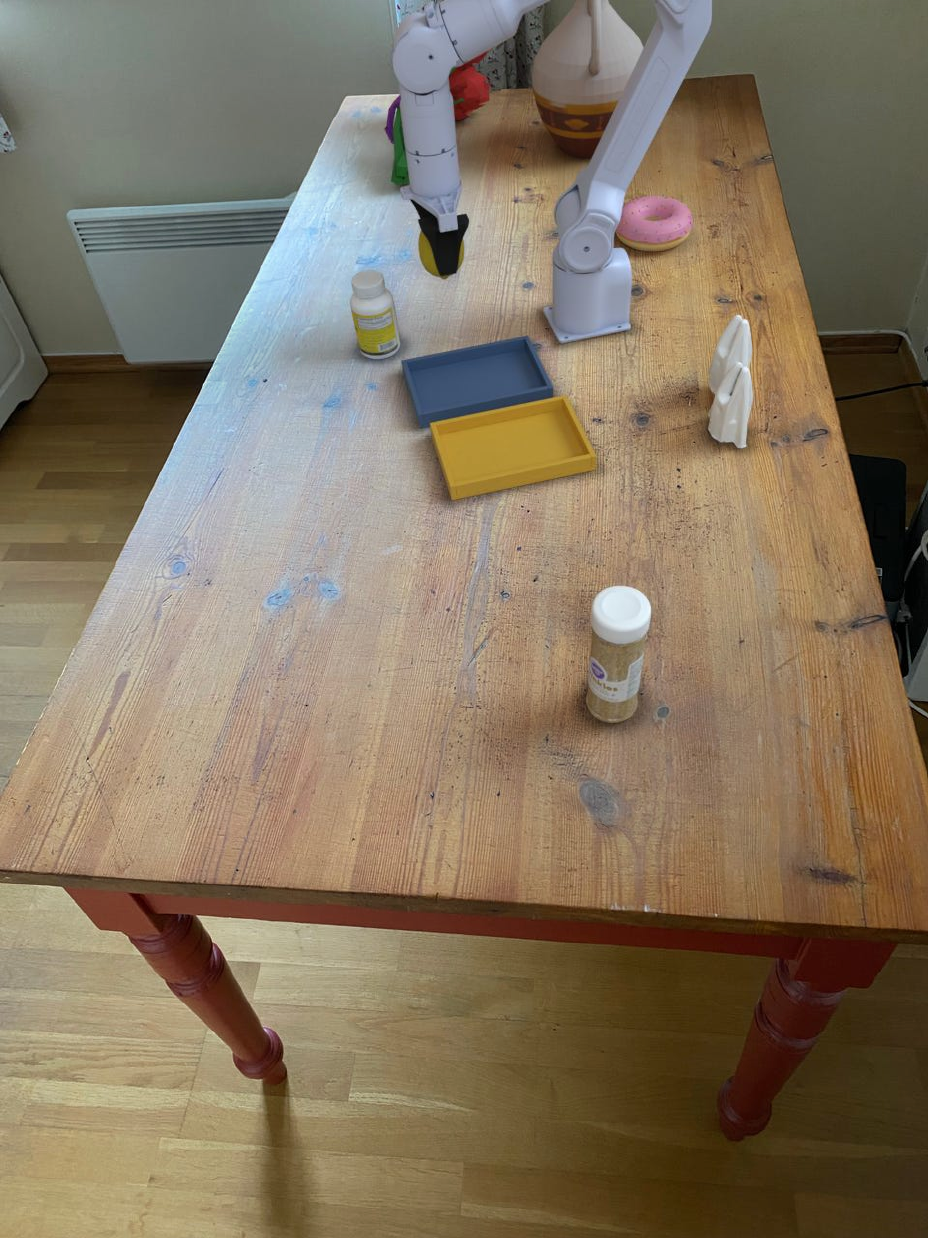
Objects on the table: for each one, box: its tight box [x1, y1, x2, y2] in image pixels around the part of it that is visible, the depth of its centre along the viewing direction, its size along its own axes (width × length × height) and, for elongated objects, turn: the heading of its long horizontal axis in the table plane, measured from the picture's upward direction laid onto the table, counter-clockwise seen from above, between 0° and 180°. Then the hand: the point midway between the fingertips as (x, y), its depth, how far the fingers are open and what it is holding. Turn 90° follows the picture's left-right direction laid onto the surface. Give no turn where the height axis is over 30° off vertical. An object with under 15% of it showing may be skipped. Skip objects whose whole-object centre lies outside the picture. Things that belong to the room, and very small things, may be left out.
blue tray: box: [400, 334, 554, 429], centre depth 107 cm, size 16×11×2 cm
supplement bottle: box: [349, 269, 401, 360], centre depth 111 cm, size 5×5×10 cm
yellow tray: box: [429, 394, 597, 501], centre depth 99 cm, size 16×11×2 cm
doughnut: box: [615, 194, 694, 252], centre depth 125 cm, size 11×11×4 cm
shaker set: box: [707, 314, 754, 449], centre depth 97 cm, size 12×4×11 cm, turn 171°
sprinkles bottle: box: [585, 585, 652, 724], centre depth 73 cm, size 5×5×13 cm
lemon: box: [417, 229, 465, 281], centre depth 107 cm, size 6×6×8 cm
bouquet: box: [384, 49, 492, 186], centre depth 144 cm, size 20×16×30 cm
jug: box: [531, 0, 644, 159], centre depth 134 cm, size 20×18×30 cm
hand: (443, 260), depth 108 cm, fingers closed on lemon, 5 cm apart
